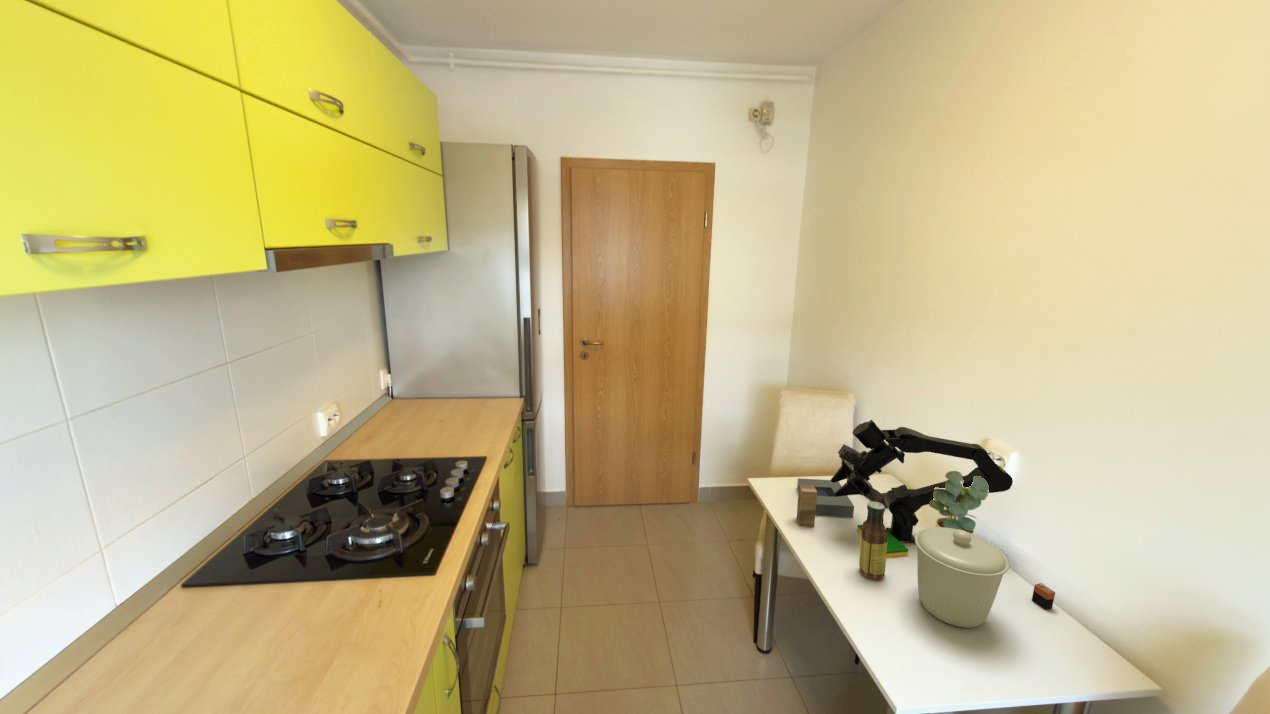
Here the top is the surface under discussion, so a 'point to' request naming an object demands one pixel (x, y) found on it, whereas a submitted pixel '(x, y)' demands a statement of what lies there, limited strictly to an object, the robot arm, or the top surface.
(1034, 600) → the battery
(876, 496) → the bolt
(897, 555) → the dish sponge
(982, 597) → the canister
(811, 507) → the walnut block
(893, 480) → the top surface
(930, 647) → the top surface
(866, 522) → the sauce bottle
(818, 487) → the hole plate
